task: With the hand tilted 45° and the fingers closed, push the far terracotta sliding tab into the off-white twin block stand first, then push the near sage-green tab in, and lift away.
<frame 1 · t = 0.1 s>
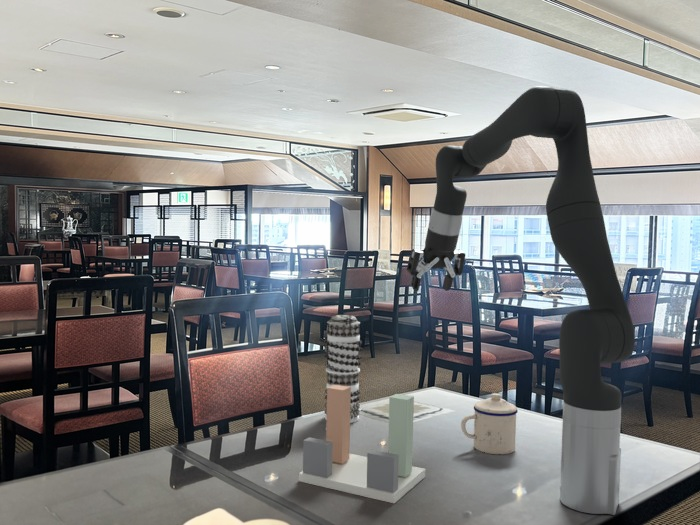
hand: (430, 289, 163), 31 cm above the table, tool tilted 20°, fingers open, 8 cm apart
twin block stand: (362, 478, 121), on the table
teacup with lid: (487, 449, 140), on the table
decorative candle: (342, 419, 160), on the table
sage tab: (400, 434, 119), point 9 cm above the table, slide at 0.0 cm
terracotta tab: (338, 423, 126), point 9 cm above the table, slide at 0.0 cm
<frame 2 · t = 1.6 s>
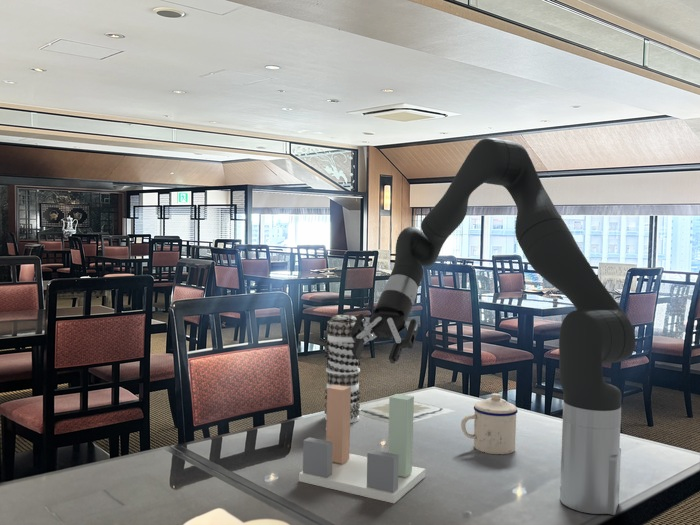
hand: (373, 358, 138), 19 cm above the table, tool tilted 45°, fingers open, 8 cm apart
nothing on the table moved.
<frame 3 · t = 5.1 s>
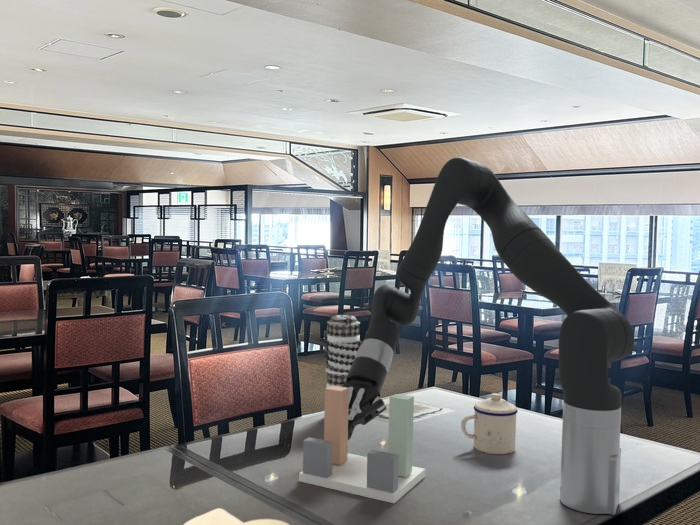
hand: (341, 439, 127), 5 cm above the table, tool tilted 45°, fingers closed
terracotta tab: (336, 424, 125), point 9 cm above the table, slide at 0.8 cm, touching gripper
everything else where it was.
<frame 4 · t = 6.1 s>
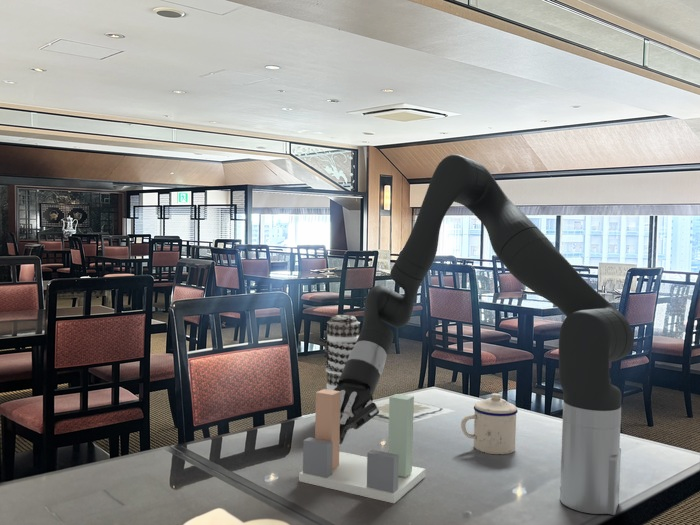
hand: (332, 444, 124), 5 cm above the table, tool tilted 45°, fingers closed
terracotta tab: (327, 429, 122), point 9 cm above the table, slide at 4.1 cm, touching gripper
everything else where it was.
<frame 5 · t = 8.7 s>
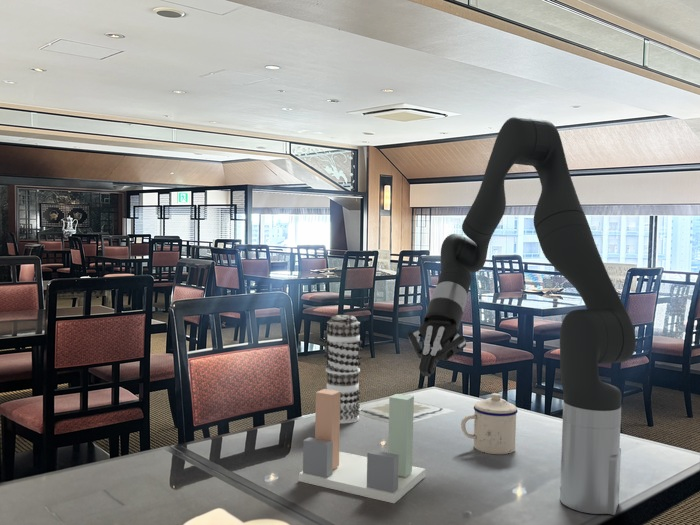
hand: (425, 374, 131), 17 cm above the table, tool tilted 45°, fingers closed
terracotta tab: (327, 429, 122), point 9 cm above the table, slide at 4.1 cm
everything else where it was.
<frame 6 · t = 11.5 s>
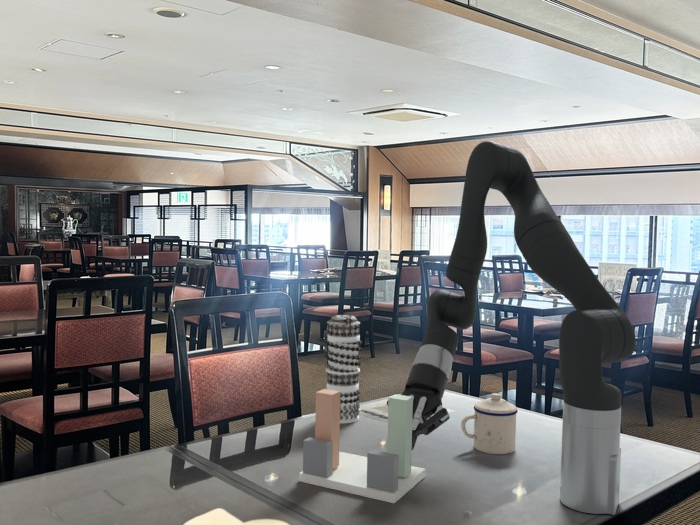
hand: (404, 450, 121), 5 cm above the table, tool tilted 45°, fingers closed
sage tab: (399, 435, 119), point 9 cm above the table, slide at 0.5 cm, touching gripper
everything else where it was.
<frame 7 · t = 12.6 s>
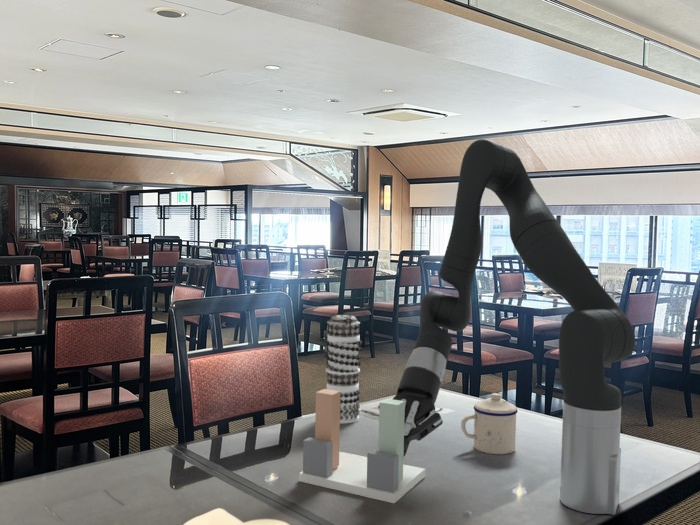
hand: (395, 456, 118), 5 cm above the table, tool tilted 45°, fingers closed
sage tab: (391, 441, 116), point 9 cm above the table, slide at 4.2 cm, touching gripper
everything else where it was.
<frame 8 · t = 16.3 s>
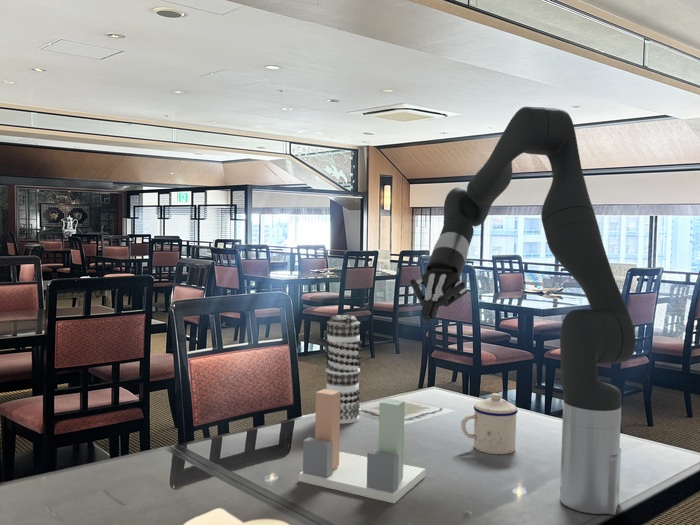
hand: (426, 318, 135), 28 cm above the table, tool tilted 45°, fingers closed
sage tab: (391, 441, 116), point 9 cm above the table, slide at 4.2 cm
everything else where it was.
at the end: terracotta tab slide at 4.1 cm; sage tab slide at 4.2 cm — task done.
